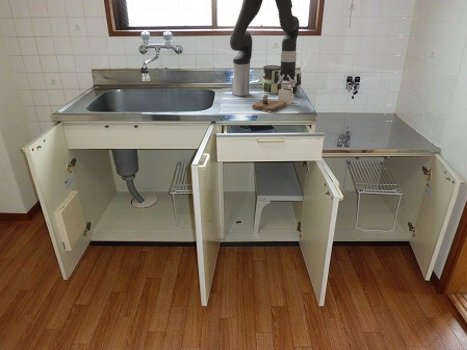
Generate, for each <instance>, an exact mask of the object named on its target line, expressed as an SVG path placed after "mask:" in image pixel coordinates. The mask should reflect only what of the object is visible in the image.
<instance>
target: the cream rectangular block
mask: <svg viewBox="0 0 467 350" xmlns="http://www.w3.org/2000/svg"><path fill="white" fill-rule="evenodd" d="M277 94H278V95H277V96H278V98H277V101H281V102H286V106H289V105H291V104H293V103H294V99H295V97H294V96H295V94H293V88H292V89H290V88H281V89H280V90H279V93H277Z"/></svg>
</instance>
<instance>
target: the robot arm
mask: <svg viewBox="0 0 467 350" xmlns="http://www.w3.org/2000/svg"><path fill="white" fill-rule="evenodd" d="M263 1H264V0H242V3H241V7H240V10H239V13H238V16H237V20H236V23H235V25H234V27H233V30H232V32H231V35H230V38H229V45H230V48H231V49H232V51H235V52H237V54H236V55H235V56H234V57H233V60H232V61H233V62H232V64H233V70H232V71H233V73H232V74H233V76H232V77H231V95H233V96H237V97H246V96H250V92H251V91H250V89H251V88H250V83H251V81H250V80H251V79H250V77H251V75H250V74H251V59H252V54H253V53H252V52H253V37H252V35H251V33H250V32H249V31H247V30H248V28H249V26H250V24H251V23H252V22H253V21H254V19H255V18H256V16H257V15H258V14H259V12H260V10H261V7H262V4H263ZM274 1H275V5H276V8H277V11H278V13H277V14H278V20H279V26H280V28H281V30H282V31H283V32H284V37H283V38H282V40H281V54H280V66H281V68H280V69H281V71H275V76H274V83H277V90H278V92H279V90H280V89H282V88H281V84H282V83H283V82H285V81H286V82H289V81H290V82H291V83H292V85H293V86H294V87H293V88H292V89H293V94H294V95H295V94H297V92H298V88H297V86H299V87H300V86H301V85H302V73H301V72H298V73H297V72H296V69H297V68H296V66H297V39H298V36H299V32H300V19H299V18H298V17H297V16H295V15H293V11H292V9H293V2H292V0H274ZM279 75H281V78H280V79H279ZM278 79H279V81H278Z"/></svg>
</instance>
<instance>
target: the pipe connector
mask: <svg viewBox="0 0 467 350" xmlns="http://www.w3.org/2000/svg"><path fill="white" fill-rule="evenodd" d="M293 87H294V86H293V84H292V83H291V82H290V81H288V84H282V83H281V89H282V88H290V89H293ZM297 89H300V85H299V86H297Z"/></svg>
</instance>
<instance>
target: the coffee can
mask: <svg viewBox="0 0 467 350" xmlns="http://www.w3.org/2000/svg"><path fill="white" fill-rule="evenodd" d="M262 68H263V72H262V73H263V74H262V75H263V76H262V77H263V78H262V92H263V93H264V94H271V95H273V94H278V93H279V92H278V90H277V83H274V76H275V71H281V69H280V68H281V65H276V64H275V65H274V64H268V65H264V66H263V67H262ZM280 78H281V75H279V79H280ZM279 79H278V81H279Z"/></svg>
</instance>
